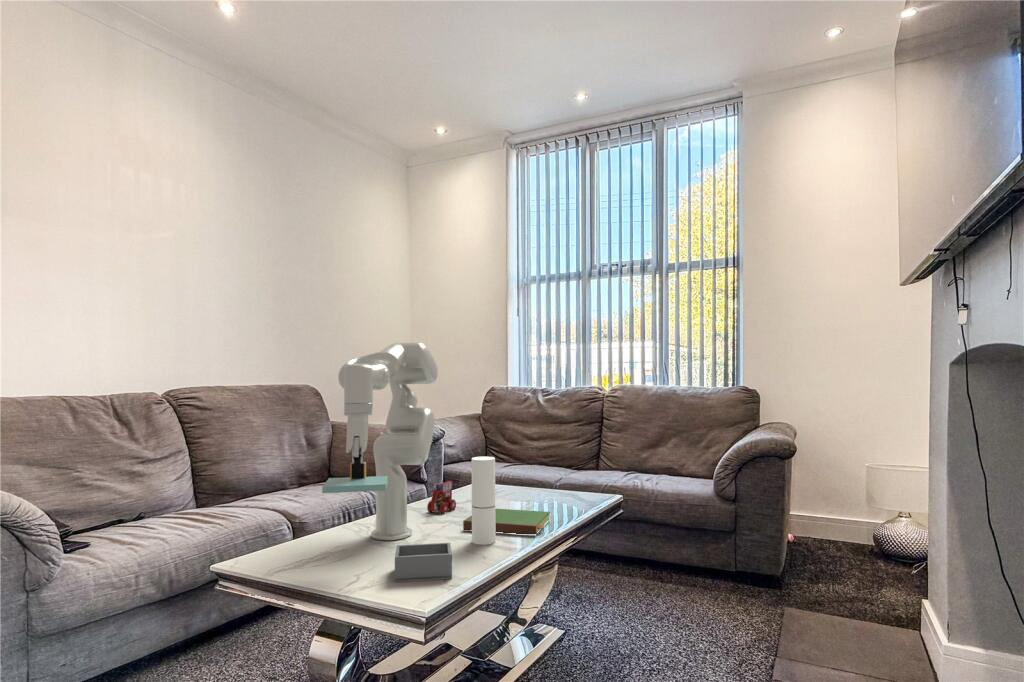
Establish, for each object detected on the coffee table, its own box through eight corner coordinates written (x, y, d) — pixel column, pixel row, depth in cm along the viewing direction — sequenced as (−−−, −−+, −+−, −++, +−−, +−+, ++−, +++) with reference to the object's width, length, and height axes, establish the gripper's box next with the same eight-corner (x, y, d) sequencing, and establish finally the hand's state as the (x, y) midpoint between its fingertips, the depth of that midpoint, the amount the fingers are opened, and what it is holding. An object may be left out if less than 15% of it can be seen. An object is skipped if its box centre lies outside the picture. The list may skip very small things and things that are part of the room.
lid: (328, 484, 159) (329, 463, 159) (387, 481, 161) (387, 461, 161) (322, 493, 147) (322, 470, 147) (385, 490, 150) (385, 468, 150)
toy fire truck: (423, 514, 212) (423, 485, 212) (443, 506, 223) (443, 479, 223) (439, 516, 209) (439, 486, 209) (458, 508, 220) (458, 480, 220)
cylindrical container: (495, 538, 181) (495, 456, 182) (495, 544, 174) (495, 459, 175) (472, 538, 180) (471, 456, 182) (471, 545, 173) (471, 460, 175)
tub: (396, 568, 154) (396, 545, 154) (450, 565, 156) (450, 542, 156) (394, 582, 144) (394, 557, 144) (452, 578, 146) (451, 554, 146)
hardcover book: (463, 532, 189) (463, 520, 189) (482, 518, 207) (482, 507, 207) (538, 538, 182) (538, 526, 182) (552, 523, 200) (551, 512, 200)
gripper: (347, 407, 167) (347, 473, 166) (340, 411, 151) (340, 483, 151) (374, 407, 168) (374, 472, 167) (370, 411, 153) (370, 482, 152)
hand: (358, 477), depth 159 cm, fingers closed on lid
